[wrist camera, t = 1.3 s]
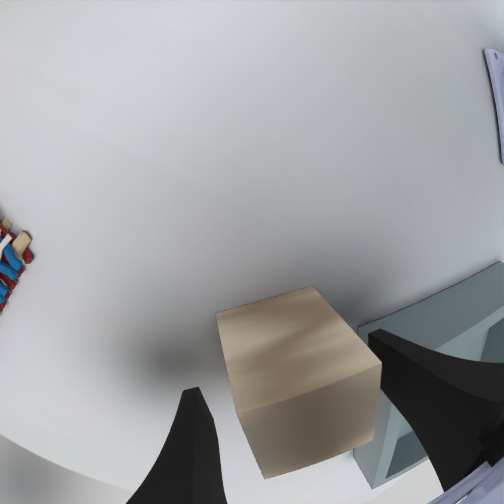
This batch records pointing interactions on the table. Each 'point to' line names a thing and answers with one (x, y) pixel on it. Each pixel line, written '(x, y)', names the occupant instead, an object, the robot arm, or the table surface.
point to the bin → (441, 340)
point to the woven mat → (11, 259)
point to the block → (298, 380)
